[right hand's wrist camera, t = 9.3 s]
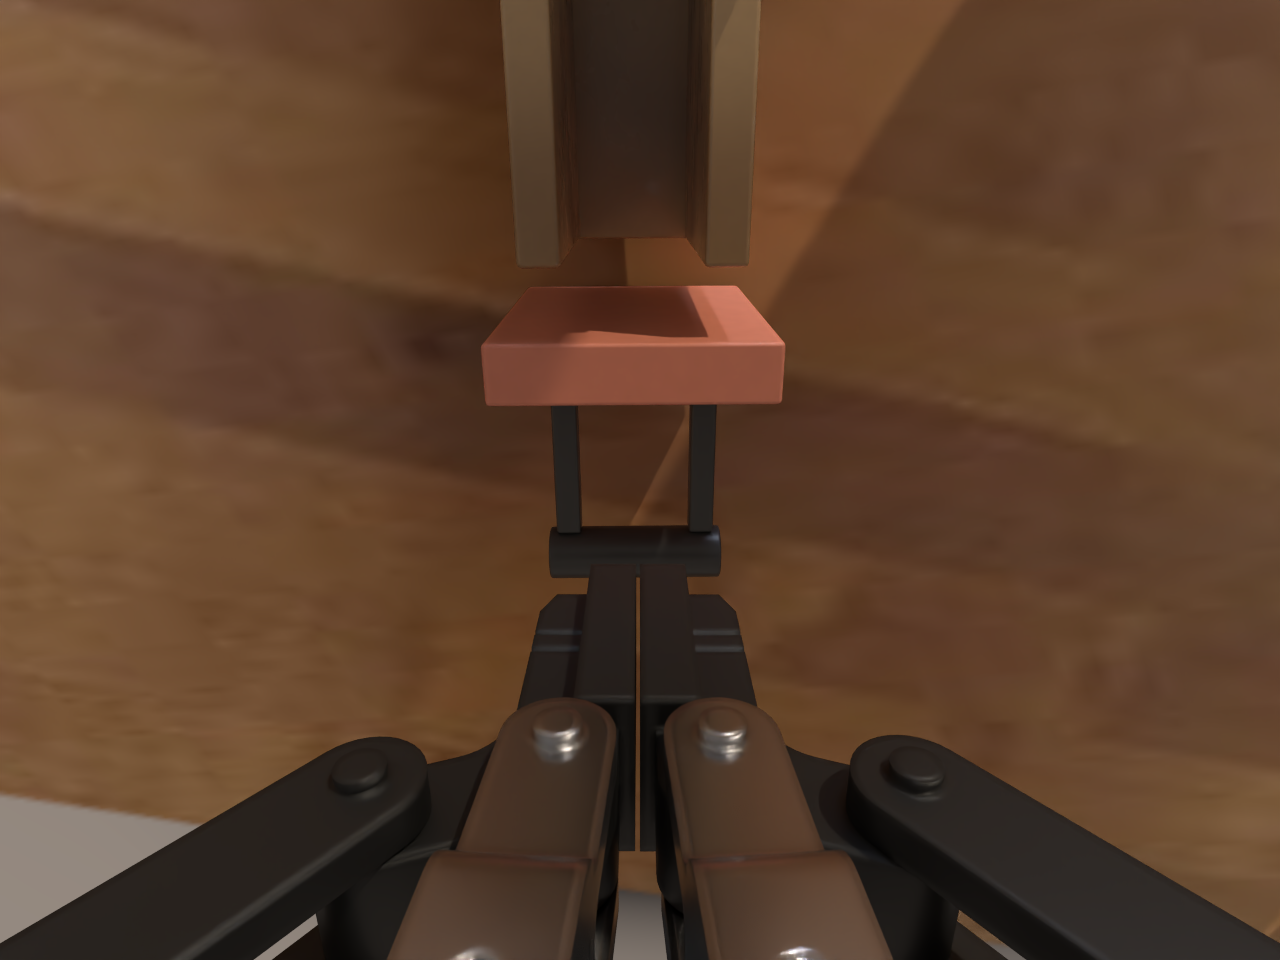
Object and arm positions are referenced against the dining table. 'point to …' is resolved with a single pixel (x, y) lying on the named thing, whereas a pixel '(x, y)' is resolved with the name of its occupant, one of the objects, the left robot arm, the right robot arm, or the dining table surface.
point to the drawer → (632, 208)
